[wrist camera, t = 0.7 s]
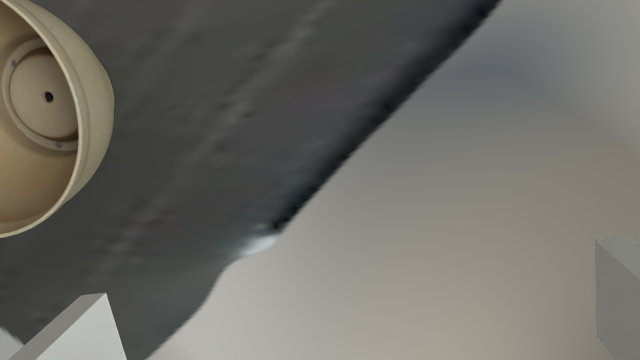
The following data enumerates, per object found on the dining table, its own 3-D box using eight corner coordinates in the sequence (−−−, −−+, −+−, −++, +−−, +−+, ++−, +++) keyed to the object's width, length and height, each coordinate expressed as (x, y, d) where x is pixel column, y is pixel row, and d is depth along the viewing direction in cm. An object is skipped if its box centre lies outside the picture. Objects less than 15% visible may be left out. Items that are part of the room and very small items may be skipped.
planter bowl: (-18, 183, 43) (-143, 229, 32) (-46, -14, 38) (-202, -35, 28) (160, 198, 41) (89, 251, 31) (152, -4, 37) (66, -21, 26)
